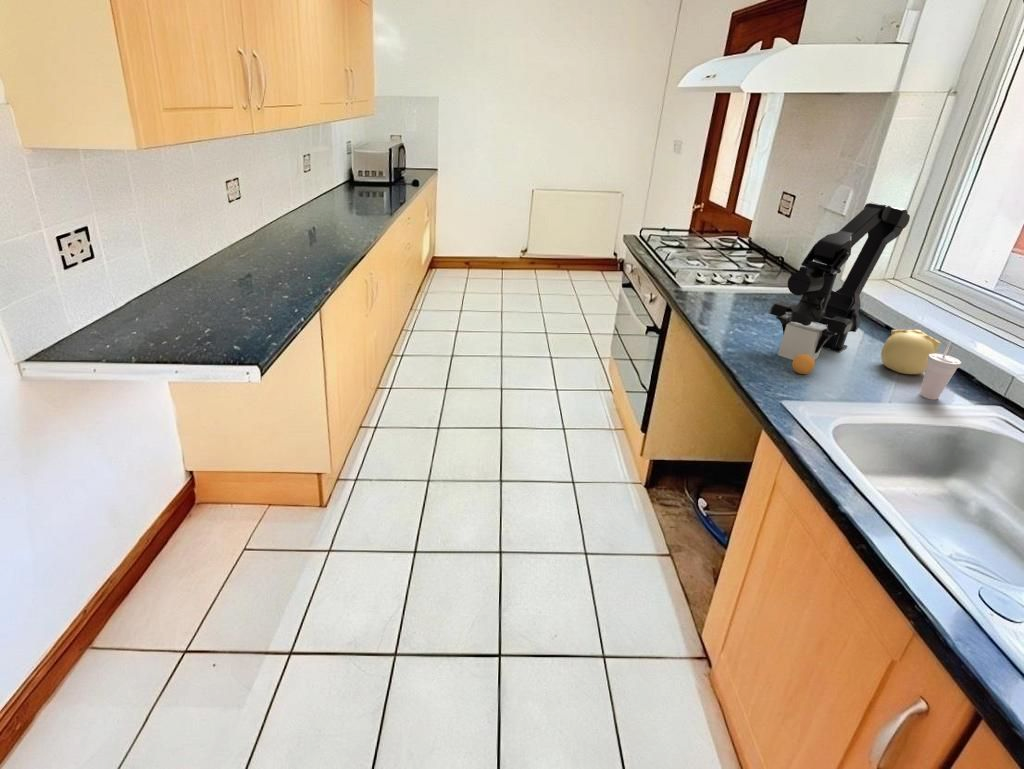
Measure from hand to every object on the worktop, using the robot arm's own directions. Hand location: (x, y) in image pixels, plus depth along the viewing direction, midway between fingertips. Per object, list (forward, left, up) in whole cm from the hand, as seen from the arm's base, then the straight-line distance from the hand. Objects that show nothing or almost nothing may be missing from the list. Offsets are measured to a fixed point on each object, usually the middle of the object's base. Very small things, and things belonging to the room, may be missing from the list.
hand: (800, 347), depth 152 cm
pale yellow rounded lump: (-15, +21, -3) cm, 26 cm away
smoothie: (-2, +30, -3) cm, 30 cm away
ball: (+11, +5, 0) cm, 12 cm away
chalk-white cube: (0, 0, -2) cm, 2 cm away
